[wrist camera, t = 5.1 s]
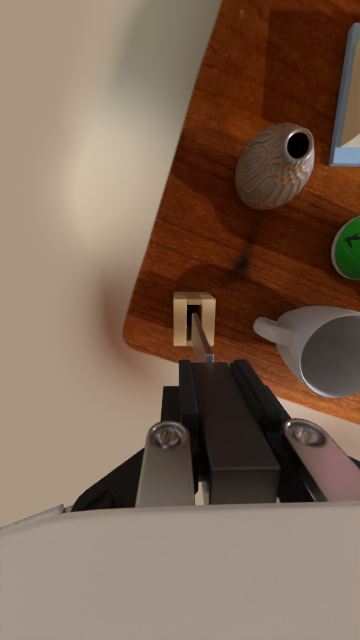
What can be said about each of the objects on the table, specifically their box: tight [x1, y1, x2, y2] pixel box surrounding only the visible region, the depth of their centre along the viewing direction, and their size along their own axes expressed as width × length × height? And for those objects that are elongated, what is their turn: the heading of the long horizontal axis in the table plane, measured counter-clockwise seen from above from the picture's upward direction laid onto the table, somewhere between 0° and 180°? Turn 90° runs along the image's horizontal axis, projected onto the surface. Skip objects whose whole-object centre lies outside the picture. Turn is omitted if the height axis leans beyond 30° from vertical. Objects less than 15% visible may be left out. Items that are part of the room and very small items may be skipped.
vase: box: [235, 123, 314, 210], centre depth 21 cm, size 7×7×9 cm
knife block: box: [173, 292, 216, 346], centre depth 27 cm, size 5×4×6 cm
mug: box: [253, 306, 360, 398], centre depth 25 cm, size 12×9×10 cm
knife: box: [191, 313, 281, 505], centre depth 13 cm, size 3×2×15 cm, turn 0°
